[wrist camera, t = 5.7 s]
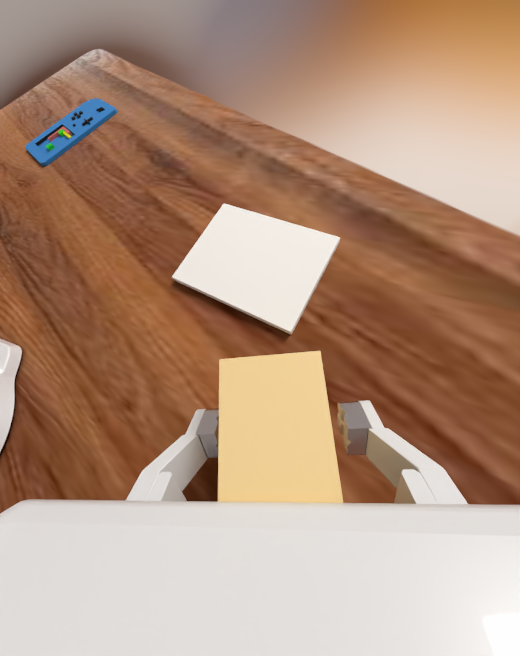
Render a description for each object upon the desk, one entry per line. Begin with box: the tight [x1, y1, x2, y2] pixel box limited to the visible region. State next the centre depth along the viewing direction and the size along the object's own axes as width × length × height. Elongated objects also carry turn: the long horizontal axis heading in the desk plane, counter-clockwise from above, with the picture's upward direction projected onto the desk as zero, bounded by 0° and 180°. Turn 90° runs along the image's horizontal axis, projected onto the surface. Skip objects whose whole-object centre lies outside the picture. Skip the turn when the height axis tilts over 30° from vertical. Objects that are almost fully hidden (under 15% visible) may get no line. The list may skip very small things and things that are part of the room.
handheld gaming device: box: [25, 99, 117, 166], centre depth 35 cm, size 8×1×15 cm
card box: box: [218, 351, 343, 503], centre depth 11 cm, size 4×6×9 cm, turn 3°
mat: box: [172, 203, 340, 335], centre depth 20 cm, size 13×10×1 cm
